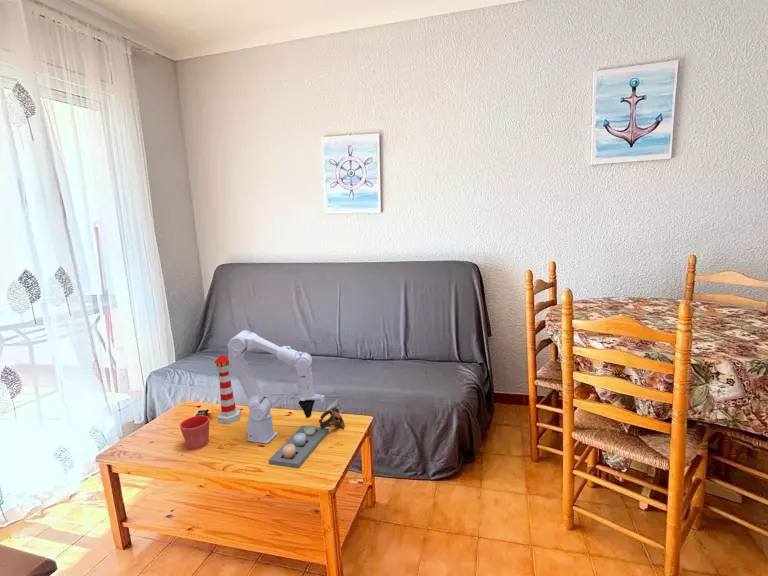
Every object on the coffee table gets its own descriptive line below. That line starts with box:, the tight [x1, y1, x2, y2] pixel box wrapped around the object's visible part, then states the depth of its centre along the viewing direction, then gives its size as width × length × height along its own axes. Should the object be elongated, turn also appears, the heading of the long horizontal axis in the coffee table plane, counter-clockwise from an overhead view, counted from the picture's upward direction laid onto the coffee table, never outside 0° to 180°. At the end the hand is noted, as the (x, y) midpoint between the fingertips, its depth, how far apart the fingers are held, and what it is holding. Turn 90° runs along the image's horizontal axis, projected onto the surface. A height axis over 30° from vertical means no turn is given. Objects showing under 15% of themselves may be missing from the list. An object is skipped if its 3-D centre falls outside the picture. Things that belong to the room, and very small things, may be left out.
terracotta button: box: [283, 444, 296, 459], centre depth 151 cm, size 4×4×3 cm
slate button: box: [294, 433, 306, 447], centre depth 158 cm, size 4×4×3 cm
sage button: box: [304, 424, 316, 436], centre depth 166 cm, size 4×4×3 cm
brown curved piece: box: [318, 407, 345, 430], centre depth 173 cm, size 12×10×8 cm
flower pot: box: [179, 414, 210, 450], centre depth 164 cm, size 11×11×10 cm
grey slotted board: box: [268, 425, 330, 469], centre depth 158 cm, size 12×25×2 cm, turn 163°
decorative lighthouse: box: [213, 354, 242, 425], centre depth 182 cm, size 10×9×30 cm
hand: (308, 416), depth 165 cm, fingers closed
